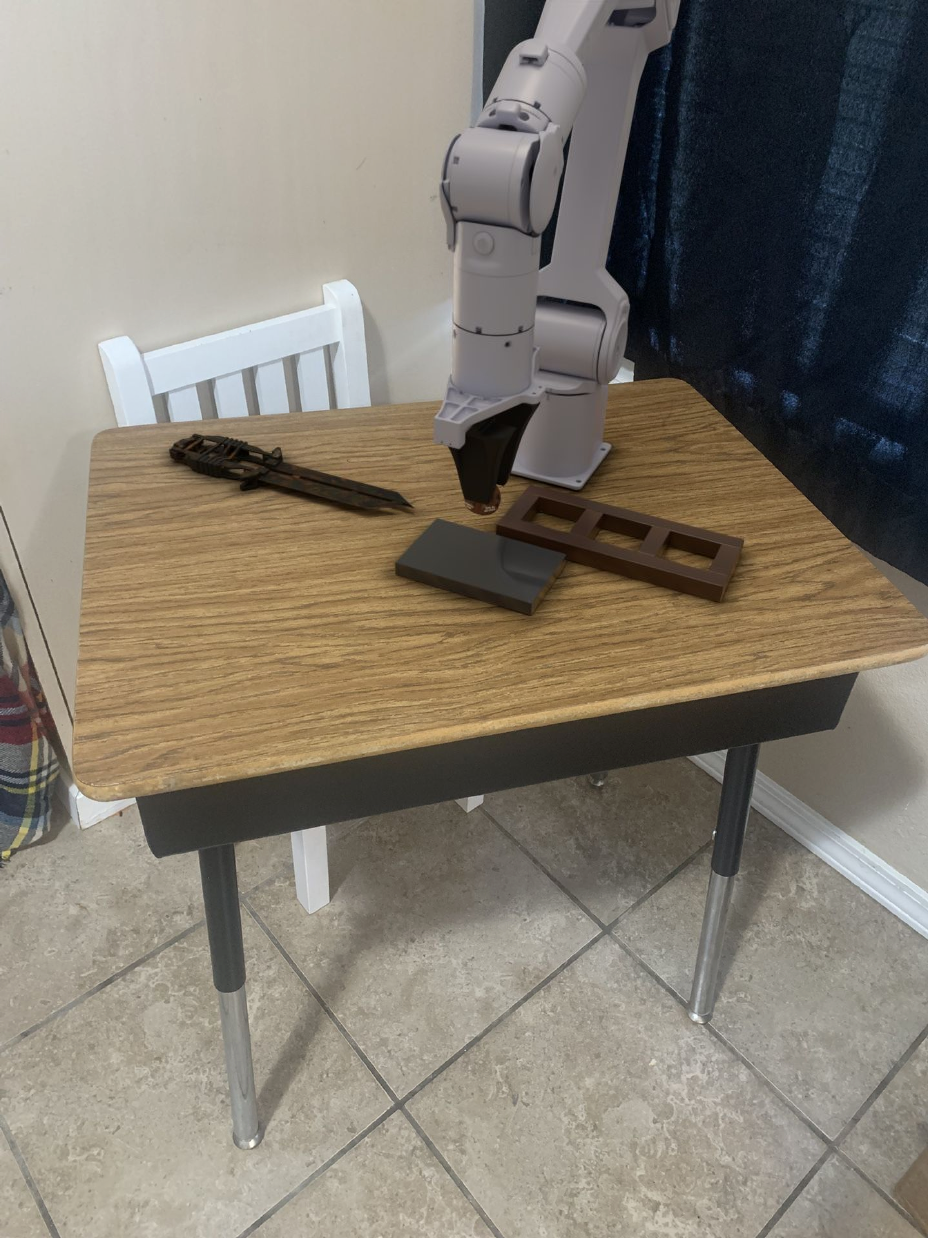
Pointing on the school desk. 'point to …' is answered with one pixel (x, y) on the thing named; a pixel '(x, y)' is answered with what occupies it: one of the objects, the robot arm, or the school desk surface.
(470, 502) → the chocolate
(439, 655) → the school desk surface
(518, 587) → the board
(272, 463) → the knife
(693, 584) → the rack
